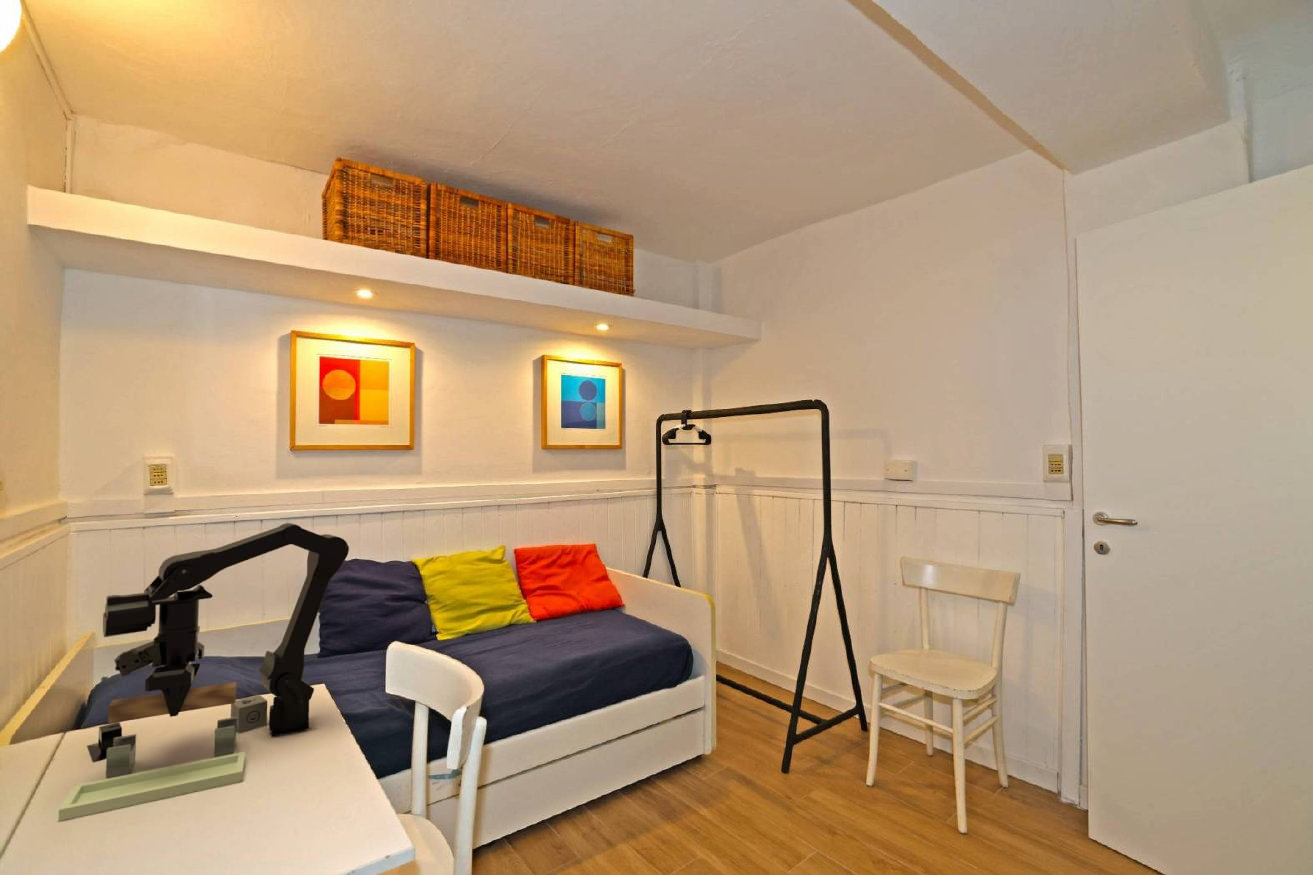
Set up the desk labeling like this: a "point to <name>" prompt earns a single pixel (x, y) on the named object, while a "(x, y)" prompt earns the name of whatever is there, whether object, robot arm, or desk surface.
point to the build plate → (104, 741)
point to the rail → (157, 704)
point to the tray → (152, 785)
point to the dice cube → (250, 713)
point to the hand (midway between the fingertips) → (175, 712)
